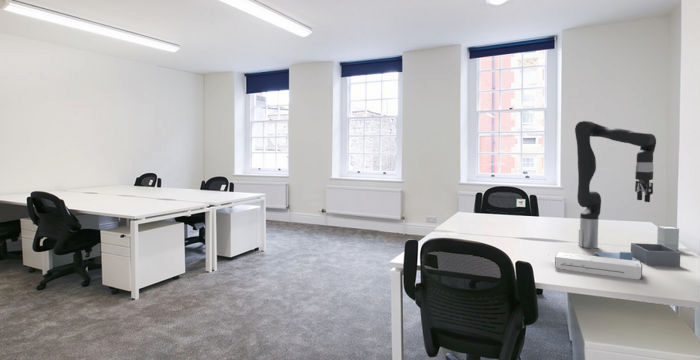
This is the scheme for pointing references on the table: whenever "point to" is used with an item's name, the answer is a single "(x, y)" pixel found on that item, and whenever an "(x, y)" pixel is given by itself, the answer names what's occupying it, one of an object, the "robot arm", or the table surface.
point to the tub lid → (617, 255)
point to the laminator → (599, 265)
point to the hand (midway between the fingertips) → (643, 201)
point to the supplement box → (668, 237)
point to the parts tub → (655, 254)
